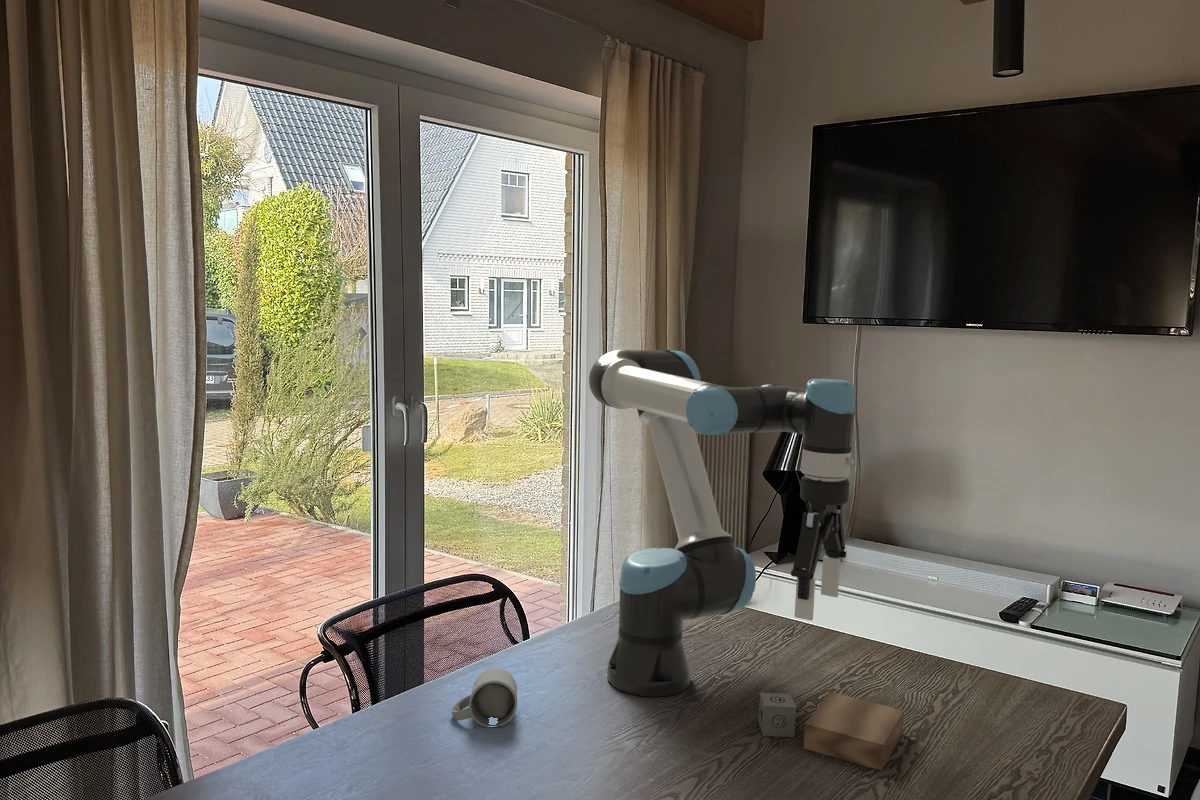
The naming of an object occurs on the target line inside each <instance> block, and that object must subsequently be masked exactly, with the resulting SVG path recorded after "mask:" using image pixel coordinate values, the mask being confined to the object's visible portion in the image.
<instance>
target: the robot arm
mask: <svg viewBox="0 0 1200 800" xmlns="http://www.w3.org/2000/svg"><path fill="white" fill-rule="evenodd" d="M588 375H589V376H588V384H589V390H590V391H591V394H592V395H593V397H594V398H595V399H596V400H597V401H598V402H599V403H601V404H602V405H604V406H607V407H611V408H612V409H613V408H614V409H618V410H627V409H629V408H633V409H636V410H637V414H638V418H639V421H640V422H641V423H642V424H645V425H646V426H648V427H649V430H650V434H651V438H652V441H653V446H654V450H655V454H656V458H657V462H658V465H659V469H660V473H661V476H662V480H663V484H664V488H665V491H666V496H667V499H668V504H669V507H670V511H671V515H672V519H673V523H674V527H675V531H676V535H677V539H678V542H677V543H676V545H675V547H674V548H671V547H661V548H657V547H651V548H645V549H644V548H643V549H641V550H637V551H634V552H633V553H631V554H629V555H628V556H627V557H626V558H625V559H624V561H623V562H622V564H621V570H620V577H619V582H618V585H619V604H618V605H619V608H618V609H619V611H618V631H617V633H618V636H617V639H616V642H615V645H614V648H613V650H612V652H611V655H610V658H609V661H608V663H607V668H606V669H607V671H606V674H607V675H606V679H608V680H607V681H609V682H610V683H611V684H612V685H613V686H614V687H613V686H612V685H611V684H610V683H609V682H608V683H609V684H610V685H611V686H612V687H613V688H615V687H616V688H615V689H617V688H618V689H617V690H618V691H621V690H622V691H621V692H623V691H624V693H626V692H627V693H626V694H629V695H633V696H640V697H642V696H643V697H653V698H654V697H666V696H668V697H669V696H673V695H676V694H678V693H682V692H684V691H685V690H687V689H688V687H690V685H691V668H690V663H689V660H688V656H687V652H686V649H685V646H684V642H683V632H684V631H683V629H684V628H683V627H684V621H689V620H693V619H694V620H695V619H699V618H705V617H710V616H716V615H727V614H729V613H733V612H736V611H739V610H742V609H744V608H745V607H746V606H748V604H749V603H750V602H751V600H752V598H753V595H754V592H755V589H756V583H757V573H756V566H755V563H754V561H753V559H752V557H751V555H750V554H749V553H747V551H746V550H744V549H742V548H740V547H736V545H735V541H734V538H733V535H732V534H730V533H729V532H727V531H725V530H724V529H723V528H722V524H721V520H720V516H719V513H718V512H719V511H718V510H717V505H716V501H715V498H714V495H713V492H712V487H711V485H710V479H709V477H708V473H707V470H706V466H705V463H704V460H703V455H702V451H701V447H700V445H699V441H698V436H697V434H699V435H705V436H706V435H708V436H714V437H715V436H716V437H717V436H723V435H732V434H733V435H735V434H750V433H752V434H753V433H772V432H773V433H774V432H775V433H776V432H785V433H791V434H797V435H801V436H803V443H802V456H801V468H800V471H801V473H802V474H803V475H802V477H801V478H800V491H799V497H800V499H801V500H803V502H808V503H809V504H810V508H809V509H810V510H809V512H803V513H802V516H801V517H802V518H801V527H800V532H799V537H798V542H797V548H796V551H795V557H794V561H793V568H792V570H791V571H790V575H791V577H794V578H795V577H796V585H795V586H796V587H795V603H794V604H795V605H794V615H793V616H794V618H796V619H802V620H806V621H813V620H814V611H815V609H814V607H815V596H816V595H815V594H816V593H815V591H816V580H817V579H816V577H815V576H814V575H815V572H816V568H817V564H818V563H819V562H818V560H819V558H820V554H821V550H822V547H823V549H824V553H825V555H824V556H823V557H822V570H821V572H822V573H821V583H820V584H821V585H820V586H821V588H820V595H821V596H826V597H832V598H837V599H838V597H839V587H840V573H841V572H840V571H841V559H842V558H843V559H845V558H846V557H847V551H845V550H846V541H845V532H844V531H845V530H844V517H843V508H844V507H843V505H845V504H847V503H848V502H849V497H850V495H849V494H850V480H848V478H849V476H850V475H851V466H852V465H854V464H855V459H853V458H851V457H852V452H853V451H852V449H853V446H852V445H853V436H854V435H853V434H854V423H855V413H856V409H857V408H856V389H855V388H856V387H855V385H854V384H853V382H852V381H849V380H844V379H834V378H810V379H809V380H808V381H807V383H806V388H803V387H802V388H800V387H795V386H790V385H789V386H788V385H785V384H781V383H778V384H775V383H774V384H773V383H767V384H762V385H761V386H746V387H743V386H742V387H741V386H736V387H735V386H724V385H721V384H715V383H712V382H711V383H710V382H707V381H702V380H701V374H700V371H699V368H698V366H697V364H696V363H695V361H694V360H693V359H692V358H691V356H690V355H689V354H687V353H685V352H683V351H680V350H673V349H672V350H671V349H667V348H666V349H665V348H661V349H617V350H612V351H609V352H607V353H606V352H605V354H603V355H602V356H600V357H599V358H598V359H597V360H596V361H595V362H594V364H593V365H592V367H591V369H590V372H589V374H588ZM696 433H697V434H696Z"/></svg>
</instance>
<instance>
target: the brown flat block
mask: <svg viewBox="0 0 1200 800" xmlns="http://www.w3.org/2000/svg"><path fill="white" fill-rule="evenodd" d="M904 718H905V710H903V709H900V708H896V707H892V706H887V705H883V704H880V703H876V702H871V701H868V700H867V701H866V700H863V699H859V698H856V697H852V696H847V695H843V694H840V693H835V692H832V691H831V692H830V693H829V694H828V695H827V697H826V698H825V699H824V700H823V701H822V703H821V704H820V705H819V706H818V707H817V709H816V710H815V711H814V712H813V714H812V715H811V716H809V718H808V719H807V721H806V722H805V723H804V733H803V734H804V735H803V736H804V737H803V749H805V750H807V751H812V752H816V753H818V754H823V755H825V756H830V757H833V758H837V759H840V760H843V761H847V762H851V763H854V764H858V765H861V766H864V767H868V768H871V769H874V770H878V771H882V770H883V769H884V767H885V766H886V764H887V763H888V760H889V758H890V757H891V755H892V753H893V752H894V750H895V749H896V746H897V744H898V743H899V741H900V739H901V738H902V736H903V731H904V720H905V719H904Z"/></svg>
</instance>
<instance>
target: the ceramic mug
mask: <svg viewBox="0 0 1200 800" xmlns="http://www.w3.org/2000/svg"><path fill="white" fill-rule="evenodd" d="M517 707H518V687H517V682H516V681H515V678H514V676H513V675H512V674H511V672H509V671H508V670H506V669H504V668H500V667H492V668H491V667H490V668H488V669H486V670H483V672H481V673H480V674H479V675H478V676H477V677H476V679H475V681H474V683H473V687H472V691H471V694H470V695H468V696H465V697H463V698H461V699H460V700H458V701H457V702H456V703H455V704H454V705H453V706H452V708H451V711H450V712H451V714H452V716H453V719H454V720H456V721H463V720H466V719H469V718H472V719H473V721H475V722H476V723H477V724H479V726H482V727H484V726H501V727H503V726H505V725H506V724H508V723H509V722H510V721H511V720H512V719H513V718H514V716H515V714H516V712H517V709H518V708H517ZM490 717H493V718H498V720H497V721H498V723H497V724H496V725H490V724H488V723H489V719H488V718H490Z"/></svg>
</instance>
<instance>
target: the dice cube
mask: <svg viewBox="0 0 1200 800" xmlns="http://www.w3.org/2000/svg"><path fill="white" fill-rule="evenodd" d="M758 708H759V709H758V721H759V722H758V724H759V728H760V730H761V731H760V732H761V734H762V737H763V736H764V737H779V738H780V737H781V738H795V731H796V729H795V728H796V715H797V706H796V704H795V701H794V699H793V697H792V695H791V693H780V692H779V693H778V692H777V693H775V692H774V693H773V692H759V705H758Z"/></svg>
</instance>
